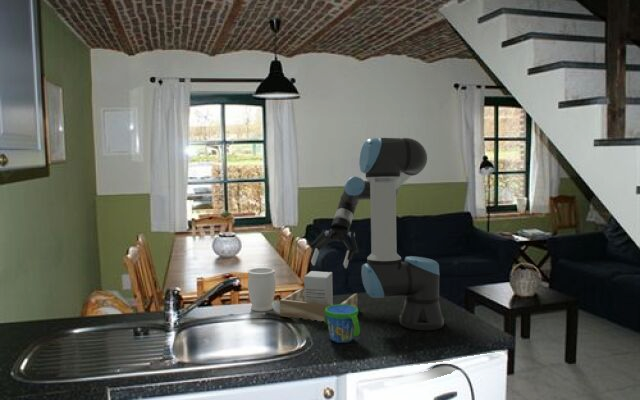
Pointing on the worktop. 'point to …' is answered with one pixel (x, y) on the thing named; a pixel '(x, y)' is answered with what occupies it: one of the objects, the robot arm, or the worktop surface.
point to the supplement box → (318, 287)
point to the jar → (261, 288)
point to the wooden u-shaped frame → (307, 306)
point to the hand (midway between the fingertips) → (328, 265)
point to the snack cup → (342, 322)
